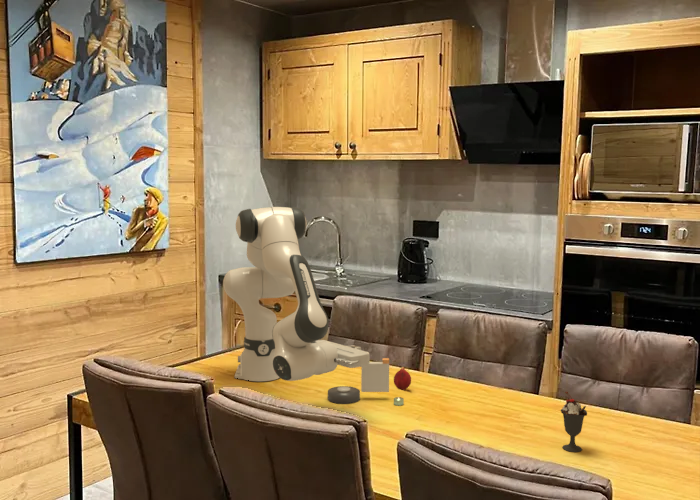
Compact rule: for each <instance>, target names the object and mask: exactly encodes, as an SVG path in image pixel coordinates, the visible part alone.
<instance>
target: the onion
mask: <svg viewBox="0 0 700 500" xmlns="http://www.w3.org/2000/svg"><path fill="white" fill-rule="evenodd" d="M405 369H406V368H405V367H404V366H402V367H400V370H398V371H397V372H396V373H395V374H394V376H393V384H394V386H395V387H396V388H397V389H398V390H399V391H405V390H406V389H408V387H410V386H411V384H412V377H411V374H410V373H409V371H407V370H405Z"/></svg>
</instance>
